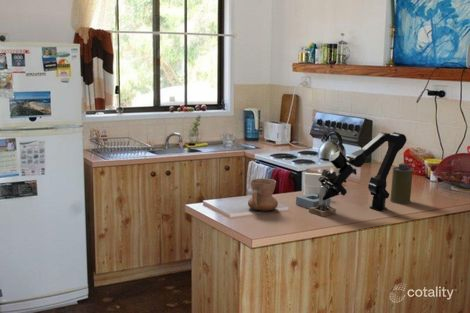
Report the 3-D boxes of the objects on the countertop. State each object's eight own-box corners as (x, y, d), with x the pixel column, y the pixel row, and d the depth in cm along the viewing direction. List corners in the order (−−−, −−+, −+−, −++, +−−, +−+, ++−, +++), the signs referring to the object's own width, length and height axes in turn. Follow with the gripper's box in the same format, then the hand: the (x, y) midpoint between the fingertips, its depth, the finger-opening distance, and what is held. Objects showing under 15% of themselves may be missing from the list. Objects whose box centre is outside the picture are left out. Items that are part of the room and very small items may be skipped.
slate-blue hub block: (312, 201, 309) (313, 193, 308) (329, 206, 300) (330, 198, 299) (295, 204, 301) (296, 196, 301) (313, 209, 292) (313, 201, 291)
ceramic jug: (259, 203, 301) (259, 175, 298) (284, 207, 293) (285, 179, 291) (239, 211, 287) (239, 182, 284) (265, 216, 279) (266, 186, 276)
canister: (404, 205, 307) (407, 166, 303) (386, 201, 314) (389, 163, 310) (414, 201, 315) (417, 164, 311) (396, 197, 322) (399, 161, 318)
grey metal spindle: (322, 211, 290) (323, 185, 288) (328, 213, 287) (329, 186, 285) (316, 212, 288) (317, 186, 285) (322, 214, 285) (324, 187, 282)
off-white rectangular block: (321, 194, 323) (322, 172, 321) (319, 198, 314) (321, 176, 312) (304, 193, 325) (305, 171, 323) (302, 197, 316) (304, 174, 314)
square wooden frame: (321, 209, 294) (322, 205, 293) (335, 213, 287) (335, 209, 286) (308, 211, 288) (309, 207, 288) (322, 216, 281) (322, 212, 281)
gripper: (322, 160, 293) (301, 183, 291) (342, 167, 276) (320, 192, 274) (335, 175, 297) (315, 197, 295) (356, 183, 280) (334, 207, 278)
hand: (320, 198), depth 286 cm, fingers open, 4 cm apart
